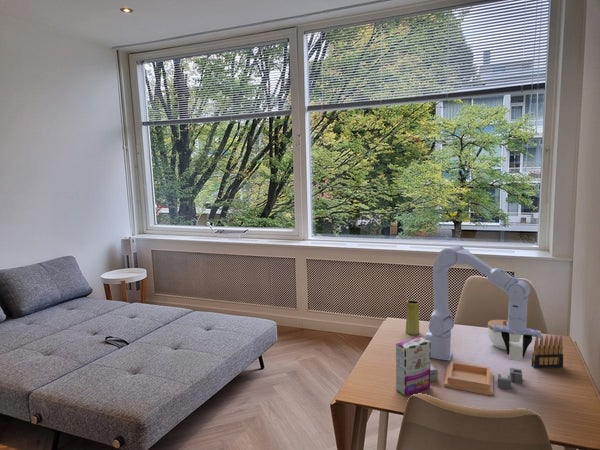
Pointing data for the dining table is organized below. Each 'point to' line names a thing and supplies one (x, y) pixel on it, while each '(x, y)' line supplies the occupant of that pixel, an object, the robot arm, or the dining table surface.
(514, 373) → the clip
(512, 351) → the plain white rectangular block
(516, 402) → the dining table surface
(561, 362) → the ammunition clip
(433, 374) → the usb wall charger
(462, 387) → the wooden tray
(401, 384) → the candy bar box
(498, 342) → the lidded bowl
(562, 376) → the dining table surface
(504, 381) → the clip
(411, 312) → the vase
